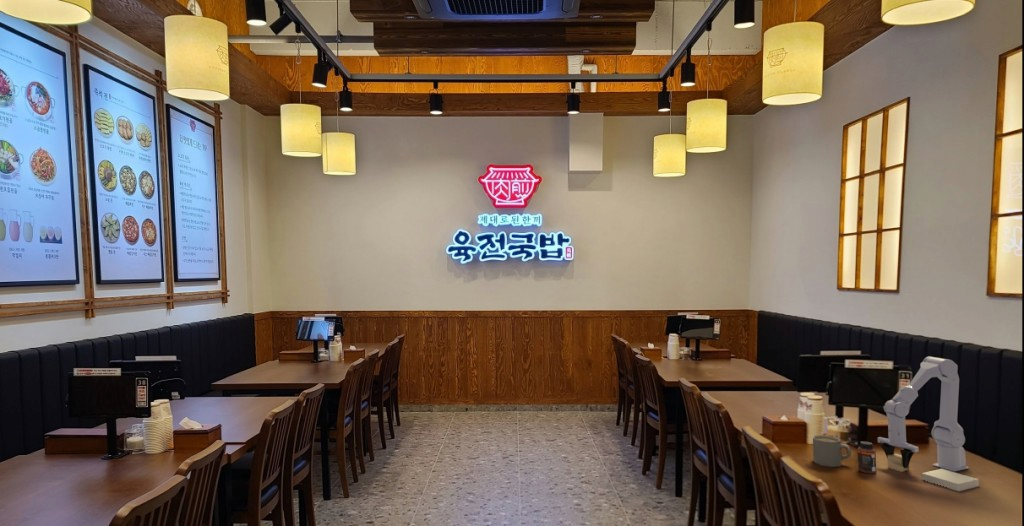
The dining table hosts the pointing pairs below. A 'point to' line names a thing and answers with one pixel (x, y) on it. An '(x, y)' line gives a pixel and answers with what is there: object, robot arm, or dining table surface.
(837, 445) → the coffee mug
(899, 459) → the maple cube
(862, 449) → the supplement bottle
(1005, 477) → the dining table surface
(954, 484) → the beige block
